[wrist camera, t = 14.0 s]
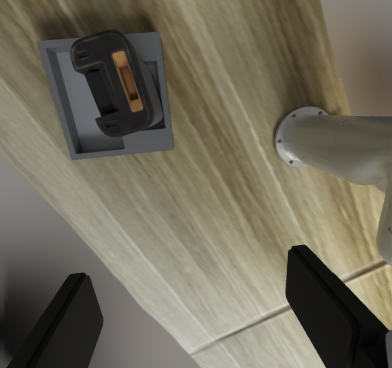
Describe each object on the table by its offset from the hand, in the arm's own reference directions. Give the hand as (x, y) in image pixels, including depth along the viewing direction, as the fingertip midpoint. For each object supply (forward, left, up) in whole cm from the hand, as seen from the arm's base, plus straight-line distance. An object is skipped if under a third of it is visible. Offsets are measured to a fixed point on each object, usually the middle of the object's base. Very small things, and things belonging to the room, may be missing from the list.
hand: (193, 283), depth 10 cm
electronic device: (+6, -10, -36) cm, 38 cm away
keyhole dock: (+11, -10, -36) cm, 39 cm away
